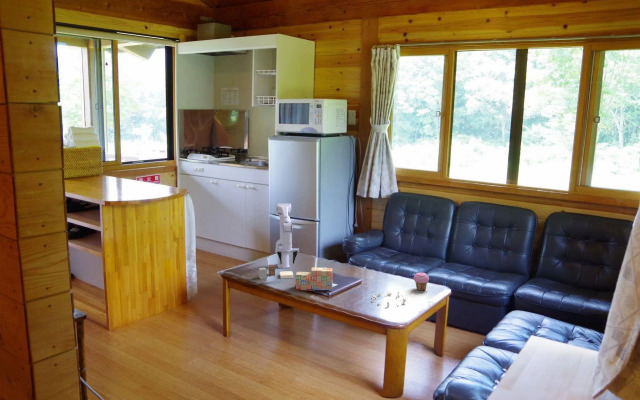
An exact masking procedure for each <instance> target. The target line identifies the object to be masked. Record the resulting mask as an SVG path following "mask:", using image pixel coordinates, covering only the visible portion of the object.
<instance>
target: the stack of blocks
mask: <svg viewBox="0 0 640 400" xmlns="http://www.w3.org/2000/svg"><path fill="white" fill-rule="evenodd" d="M333 271H334V268H332V267H331V268H329V267H314V266H313V267H311V271H310V272H309V271H296V273H295V290H297V291H299V290H300V291H308V290H307V289H314V288H319V289H332V290H333V278H334V277H333V275H334V274H333V273H334V272H333Z"/></svg>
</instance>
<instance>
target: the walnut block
mask: <svg viewBox="0 0 640 400" xmlns="http://www.w3.org/2000/svg"><path fill="white" fill-rule="evenodd" d="M267 266H268V267H267V268H268V269H267V272H268V273H267V275H268V276H270V277H271V276H274V277H275V276H276V266H275V264H268V265H267Z"/></svg>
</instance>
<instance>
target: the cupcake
mask: <svg viewBox="0 0 640 400" xmlns="http://www.w3.org/2000/svg"><path fill="white" fill-rule="evenodd" d="M429 280H430V276H429V275H428V274H427V273H425V272H417V273H416V274H415V275H414V276H413V281H414V283H415V286H416V289H417V290H418V291H425V290H427V285H428V282H429Z"/></svg>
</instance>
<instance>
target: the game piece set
mask: <svg viewBox="0 0 640 400" xmlns="http://www.w3.org/2000/svg"><path fill="white" fill-rule="evenodd" d="M386 292H387V293H386V295H387V296H392V292H389V291H388V290H386ZM396 293H397V295H396V298H398V299H399V298H400V297H401V298H402V304H405V303H406V302H407V298H406V297H403V295H400V294H399V293H400V292H399V291H397V292H396ZM371 297H372V298H371V302H372V303H375V299H376V298H377V297H382V293H381V292H378V294H377V296H376V295H374V294H371ZM380 305H381V303H380V302H378V303H377V306H380ZM386 306H387V308H389V307H390V301H387V302H386ZM396 307H400V305H399V304H396Z"/></svg>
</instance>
